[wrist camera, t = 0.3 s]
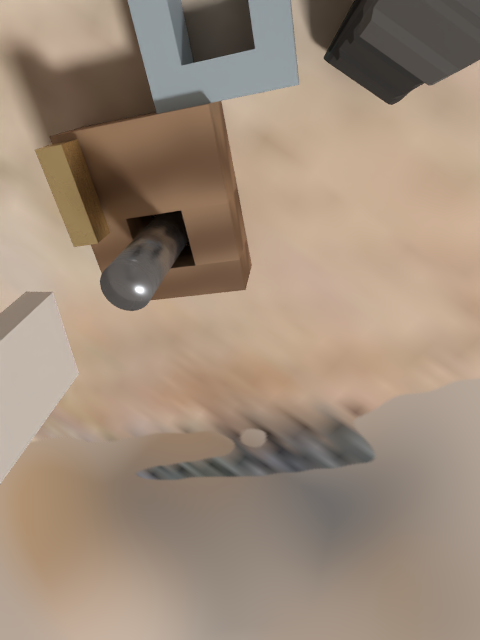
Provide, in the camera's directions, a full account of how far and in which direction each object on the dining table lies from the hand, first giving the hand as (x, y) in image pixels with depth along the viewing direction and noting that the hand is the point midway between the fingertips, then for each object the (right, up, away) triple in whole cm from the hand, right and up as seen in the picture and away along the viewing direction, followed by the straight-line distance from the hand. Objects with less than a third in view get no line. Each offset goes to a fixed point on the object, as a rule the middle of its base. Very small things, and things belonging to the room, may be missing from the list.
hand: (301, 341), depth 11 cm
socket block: (-8, +11, +26) cm, 29 cm away
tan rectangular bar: (-14, +10, +21) cm, 27 cm away
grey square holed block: (-3, +22, +19) cm, 29 cm away
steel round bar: (-7, +9, +27) cm, 30 cm away
